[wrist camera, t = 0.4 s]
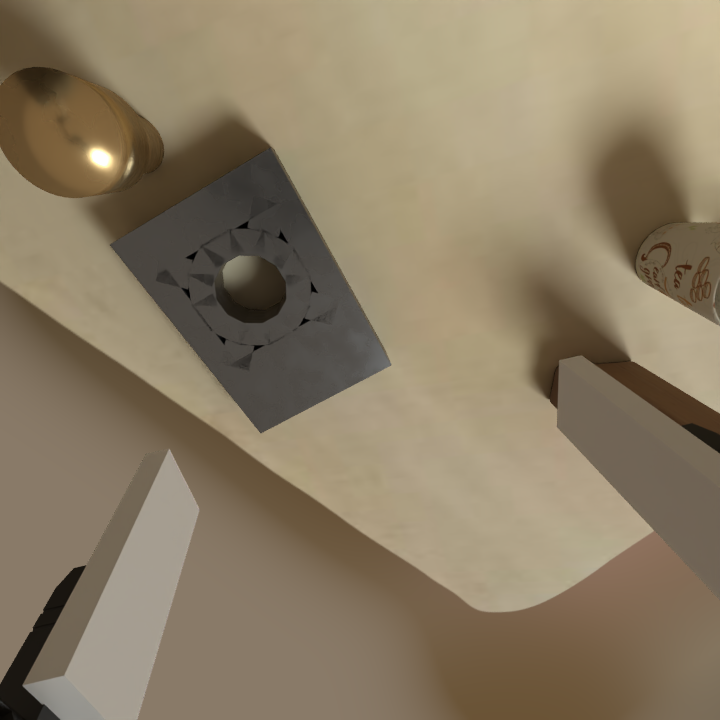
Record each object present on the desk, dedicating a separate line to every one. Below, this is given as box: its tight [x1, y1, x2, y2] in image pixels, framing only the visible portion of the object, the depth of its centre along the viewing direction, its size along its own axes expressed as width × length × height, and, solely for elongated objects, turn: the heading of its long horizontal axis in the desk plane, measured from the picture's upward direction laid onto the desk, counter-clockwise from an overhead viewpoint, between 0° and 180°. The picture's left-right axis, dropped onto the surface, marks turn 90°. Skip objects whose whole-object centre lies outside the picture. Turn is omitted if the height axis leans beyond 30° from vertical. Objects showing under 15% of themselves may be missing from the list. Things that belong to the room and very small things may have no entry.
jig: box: [110, 148, 391, 433], centre depth 36 cm, size 20×14×4 cm
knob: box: [0, 67, 164, 198], centre depth 27 cm, size 6×6×11 cm
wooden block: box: [550, 362, 720, 435], centre depth 38 cm, size 9×4×18 cm, turn 91°
